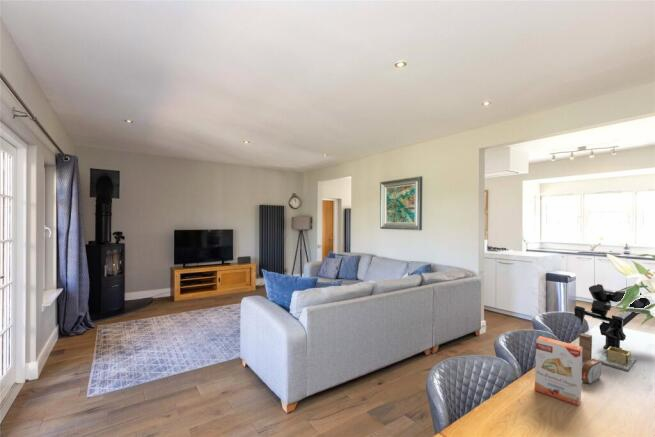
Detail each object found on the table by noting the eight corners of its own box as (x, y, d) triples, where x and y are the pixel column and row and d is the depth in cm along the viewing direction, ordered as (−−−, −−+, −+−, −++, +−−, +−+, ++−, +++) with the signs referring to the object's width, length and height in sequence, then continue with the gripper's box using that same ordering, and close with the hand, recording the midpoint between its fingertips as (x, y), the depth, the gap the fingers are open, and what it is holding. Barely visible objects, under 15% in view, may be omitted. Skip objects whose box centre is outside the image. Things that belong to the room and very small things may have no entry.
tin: (594, 374, 138) (594, 355, 138) (603, 378, 135) (603, 358, 135) (579, 383, 130) (579, 363, 130) (588, 387, 128) (588, 366, 128)
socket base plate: (606, 351, 162) (606, 342, 162) (635, 359, 154) (636, 349, 154) (596, 362, 150) (597, 352, 150) (628, 371, 141) (628, 360, 141)
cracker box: (534, 391, 124) (535, 339, 124) (537, 385, 128) (539, 335, 128) (579, 407, 114) (580, 350, 114) (581, 400, 118) (582, 345, 118)
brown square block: (581, 357, 155) (581, 333, 155) (591, 360, 152) (592, 335, 151) (578, 360, 152) (579, 334, 152) (589, 363, 149) (589, 337, 149)
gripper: (578, 290, 166) (569, 310, 159) (626, 301, 152) (618, 324, 144) (579, 305, 171) (570, 325, 163) (625, 317, 156) (618, 340, 149)
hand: (593, 328), depth 155 cm, fingers open, 9 cm apart
